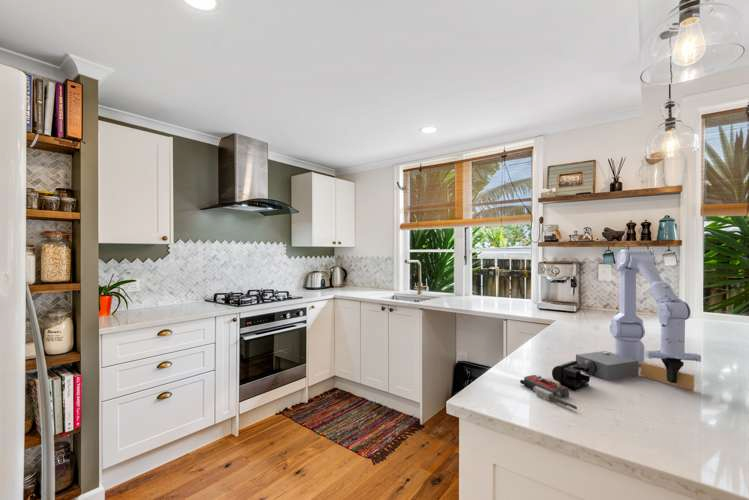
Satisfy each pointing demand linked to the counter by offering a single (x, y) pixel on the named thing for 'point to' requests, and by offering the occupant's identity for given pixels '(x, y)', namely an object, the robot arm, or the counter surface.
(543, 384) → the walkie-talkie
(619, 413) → the counter surface
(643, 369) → the long wooden stick
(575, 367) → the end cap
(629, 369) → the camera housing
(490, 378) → the counter surface
